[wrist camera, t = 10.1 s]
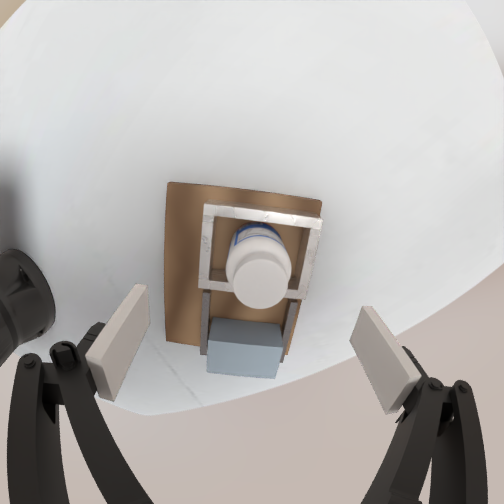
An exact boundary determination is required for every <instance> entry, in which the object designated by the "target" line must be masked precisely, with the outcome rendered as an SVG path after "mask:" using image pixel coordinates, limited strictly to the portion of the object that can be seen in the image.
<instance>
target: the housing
mask: <svg viewBox="0 0 504 504" xmlns="http://www.w3.org/2000/svg"><path fill="white" fill-rule="evenodd" d="M282 351H283V342H282V336H281V330H280V324H273V323H262V322H252V321H243V320H234V319H225V318H217V317H213V319H212V324H211V329H210V334H209V339H208V354H207V372H209V373H216V374H225V375H234V376H244V377H256V378H272V379H275V377H276V373H277V370H278V366H279V362H280V359H281V355H282Z"/></svg>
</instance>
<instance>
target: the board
mask: <svg viewBox="0 0 504 504" xmlns="http://www.w3.org/2000/svg"><path fill="white" fill-rule="evenodd" d="M208 199H214V200H224V201H232V202H241V203H249V204H257V205H265V206H272V207H279V208H286V209H293V210H300V211H307V212H313V213H316V214H317V215H319V216H320V212H321V206H322V201H320V200H316V199H310V198H304V197H297V196H291V195H284V194H277V193H270V192H263V191H255V190H247V189H239V188H230V187H221V186H211V185H201V184H190V183H178V182H169V183H167V197H166V214H165V240H164V303H165V328H166V341H169V342H175V343H181V344H188V345H194V346H200V341H201V315H202V295H203V290H204V289H203V288H198V281H199V263H200V248H201V234H202V222H203V210H204V203H205V202H206V201H207V200H208ZM249 222H261V221H253V220H245V219H237V218H229V217H220V216H217V221H216V232H215V243H214V254H213V266H212V268H214V269H222V270H226V262H227V258H228V253H229V248H230V243H231V239H232V237H233V235H234V233H235V232H236V231H237V230H238V229H239V228H240V227H241V226H243V225H244V224H246V223H249ZM264 223H267V224H269V225H270V226H272V227H273V228H274V229H275V230H276V231H277V232H278V233H279V235H280V237H281V239H282V242H283V244H284V246H285V249H286V251H287V253H288V256H289V258H290V262H291V276H290V277H292V278H294V274H295V269H296V264H297V259H298V254H299V249H300V244H301V238H302V233H303V228H304V227H299V226H292V225H284V224H277V223H269V222H264ZM297 301H298V305H297V309H296V313H295V317H294V321H293V325H292V329H291V333H290V337H289V341H288V345H287V349H286V352H285V355H288V351H289V347H290V344H291V340H292V336H293V333H294V329H295V325H296V321H297V317H298V313H299V309H300V305H301V301H302V299H297ZM287 303H288V298H283V299H282V300H281V301H280V302H279V303H277V304H276V305H274V306H272V307H269V308H265V309H255V308H251V307H248V306H246V305H244V304H243V303H242V302H240V301H239V299H238V298H237V297H236V295H235V293H234V292H227V291H219V290H212V291H211V305H210V321H209V334H210V329H211V324H212V319H213V317H217V318H225V319H234V320H243V321H252V322H262V323H273V324H280V330H281V329H282V325H283V320H284V316H285V312H286V307H287ZM208 339H209V338H208Z"/></svg>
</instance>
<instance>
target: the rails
mask: <svg viewBox="0 0 504 504" xmlns="http://www.w3.org/2000/svg"><path fill="white" fill-rule="evenodd" d="M211 291H212V290H211V289H204V290H203V295H202V315H201V341H200V355H207V350H208V338H209V321H210V305H211ZM297 305H298V301H297V299H293V298H288V303H287V307H286V312H285V316H284V320H283V325H282V329H281V336H282V342H283V351H282V355H281V359H280V363H283V360H284V356H285V352H286V349H287V345H288V341H289V337H290V333H291V329H292V325H293V321H294V317H295V313H296V309H297Z"/></svg>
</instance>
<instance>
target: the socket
mask: <svg viewBox="0 0 504 504" xmlns="http://www.w3.org/2000/svg"><path fill="white" fill-rule="evenodd" d="M217 216H220V217H229V218H237V219H245V220H253V221H261V222H269V223H277V224H284V225H292V226H299V227H304V228H303V233H302V238H301V244H300V249H299V254H298V259H297V264H296V269H295V274H294V278H292V277H290V279H289V282H288V288H287V291H286V294H285V296H284V297H283V298H293V299H304V300H305V299H306V295H307V291H308V287H309V282H310V278H311V274H312V269H313V265H314V260H315V256H316V251H317V246H318V242H319V237H320V232H321V227H322V222H323V219H322V218H321V217H320V216H319V215H317V214H316V213H313V212H307V211H300V210H293V209H286V208H279V207H272V206H265V205H257V204H249V203H241V202H232V201H224V200H214V199H208V200H207V201H206V202H205V203H204V210H203V222H202V234H201V248H200V263H199V281H198V288H203V289H211V290H219V291H227V292H234V290H233V288H232V287H231V285H230V284H229V282H228V279H227V276H226V270H222V269H214V268H212V266H213V254H214V243H215V232H216V221H217Z"/></svg>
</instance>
